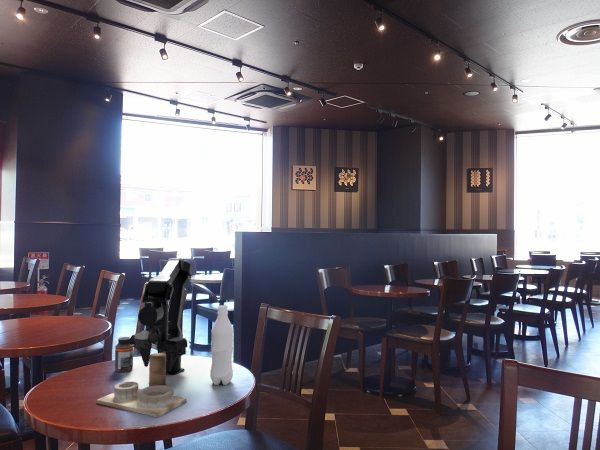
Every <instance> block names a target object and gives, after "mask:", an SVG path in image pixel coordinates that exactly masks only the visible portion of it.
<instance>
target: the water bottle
mask: <svg viewBox="0 0 600 450" xmlns="http://www.w3.org/2000/svg"><path fill="white" fill-rule="evenodd" d="M228 311H229V310H228V305H225V304H224V305H223V304H221V305H218V306H217V312H216V314H217V317H216V320H215V321H214V323H213V326H212V328H211V331H210V333H211V342H210V344H211V346H210V354H211V367H210V372H209V373H210V375H209V376H210V380H211V382H212V384H214V386H219V385H220V383H222V385H223V386H227V385H228V384H229V383H230V382H231V381H232V379H233V372H234V370H233V363H232V360H233V359H232V357H233V351H234V329H233V328H234V327H233V325H232V323H231V321H230V319H229V317H228V316H229V315H228V314H229V312H228Z"/></svg>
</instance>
